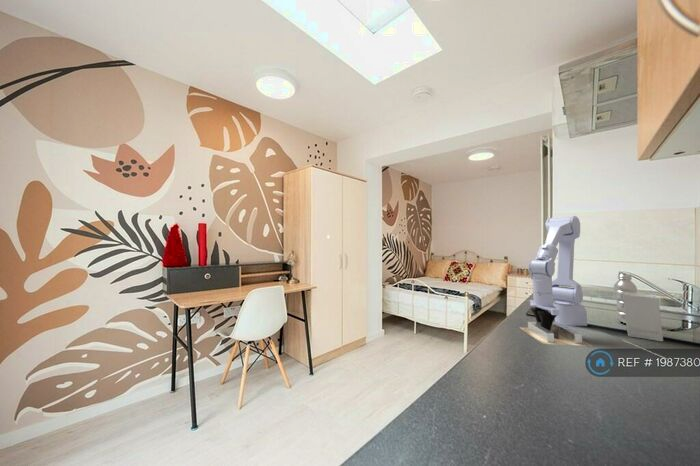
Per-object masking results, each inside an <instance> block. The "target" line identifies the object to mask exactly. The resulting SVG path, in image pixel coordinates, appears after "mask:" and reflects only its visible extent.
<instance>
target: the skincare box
mask: <svg viewBox="0 0 700 466" xmlns="http://www.w3.org/2000/svg"><path fill="white" fill-rule="evenodd" d="M623 296H624V307H625V315H626V324H625V325H626V329H627V331H626V332H627V336H628V337H631V338H638V339H645V340H651V341H656V342H664V334H663V329H662V320H661V318H662V316H661V307H660V298H659V297H658V296H657V295H656V294H645V293H637V294H632V293H623Z"/></svg>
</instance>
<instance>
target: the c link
mask: <svg viewBox="0 0 700 466" xmlns="http://www.w3.org/2000/svg"><path fill="white" fill-rule="evenodd" d="M552 327H558V332H559V335H561V336H562V337H564V338H566V339H568V340H570V341H571V342H573V343H575V344H582V341H583V336H582V333H580V332H577V331H575V330H573V329H572V328H569V327H567V325H563V324H559V323H556V322H555V321H553V323H552V326H551V330H550V331H549V330H547V329H545V328H544V327H542V324H541V322H537V321H527V328H528V330H529V331H531V332H532V333H534V334H535V335H537V336H538V337H540V338H542V339H543V340H545V341H546V342H551V343H554V333H552V332H553V331H552Z"/></svg>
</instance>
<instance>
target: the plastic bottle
mask: <svg viewBox="0 0 700 466" xmlns="http://www.w3.org/2000/svg"><path fill="white" fill-rule="evenodd" d="M617 279H618V280H617V281H616V282H615V283H614V284H613V290H614V295H615V298H616V311H615V318H616V321H617V320H619V321H622V322H626V315H625V307H624V296H623V293H632V294H638V288H637V286H636V284H635V283H634V282H633V281H632V280H633V278H632V274H628V273H618V274H617Z"/></svg>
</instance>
